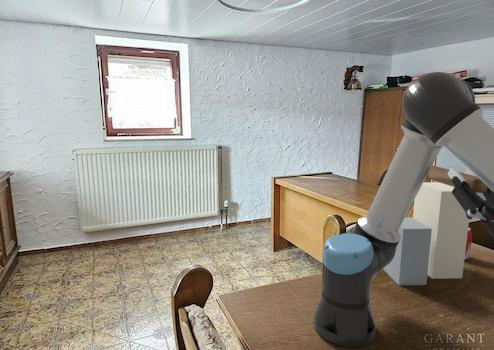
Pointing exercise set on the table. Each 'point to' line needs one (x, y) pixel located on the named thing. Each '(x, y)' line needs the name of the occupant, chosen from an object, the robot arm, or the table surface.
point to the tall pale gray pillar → (411, 254)
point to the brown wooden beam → (442, 177)
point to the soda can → (468, 244)
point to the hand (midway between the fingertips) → (458, 170)
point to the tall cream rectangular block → (443, 229)
